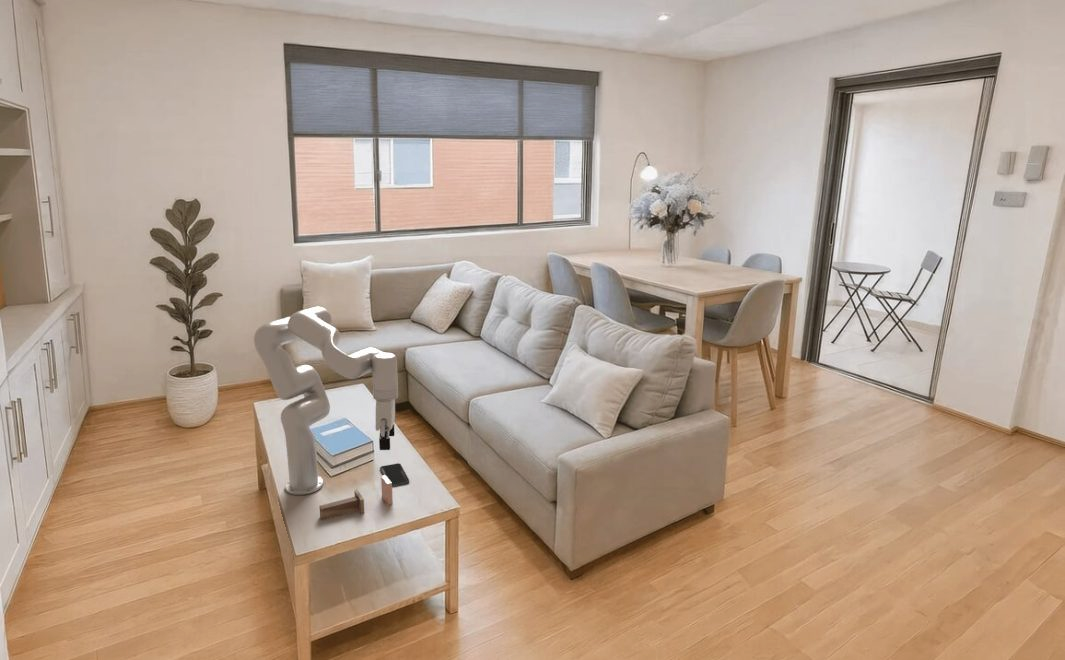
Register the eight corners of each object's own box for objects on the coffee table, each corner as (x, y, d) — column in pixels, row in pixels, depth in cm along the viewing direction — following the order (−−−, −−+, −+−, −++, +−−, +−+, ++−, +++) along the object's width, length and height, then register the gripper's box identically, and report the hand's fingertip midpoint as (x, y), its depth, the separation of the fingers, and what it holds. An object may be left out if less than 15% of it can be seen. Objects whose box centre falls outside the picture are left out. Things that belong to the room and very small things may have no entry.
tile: (381, 497, 214) (381, 476, 212) (386, 495, 215) (385, 474, 213) (387, 505, 210) (387, 484, 207) (392, 504, 210) (392, 482, 208)
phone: (388, 485, 220) (379, 466, 233) (388, 488, 221) (379, 469, 234) (410, 481, 224) (400, 462, 237) (410, 484, 224) (400, 465, 237)
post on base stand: (318, 513, 204) (317, 499, 203) (357, 502, 211) (357, 489, 209) (323, 523, 198) (322, 509, 197) (364, 512, 205) (363, 499, 204)
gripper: (377, 382, 202) (379, 431, 207) (368, 403, 186) (370, 455, 190) (401, 382, 203) (402, 431, 208) (394, 403, 186) (395, 455, 191)
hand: (387, 442), depth 199 cm, fingers open, 9 cm apart
